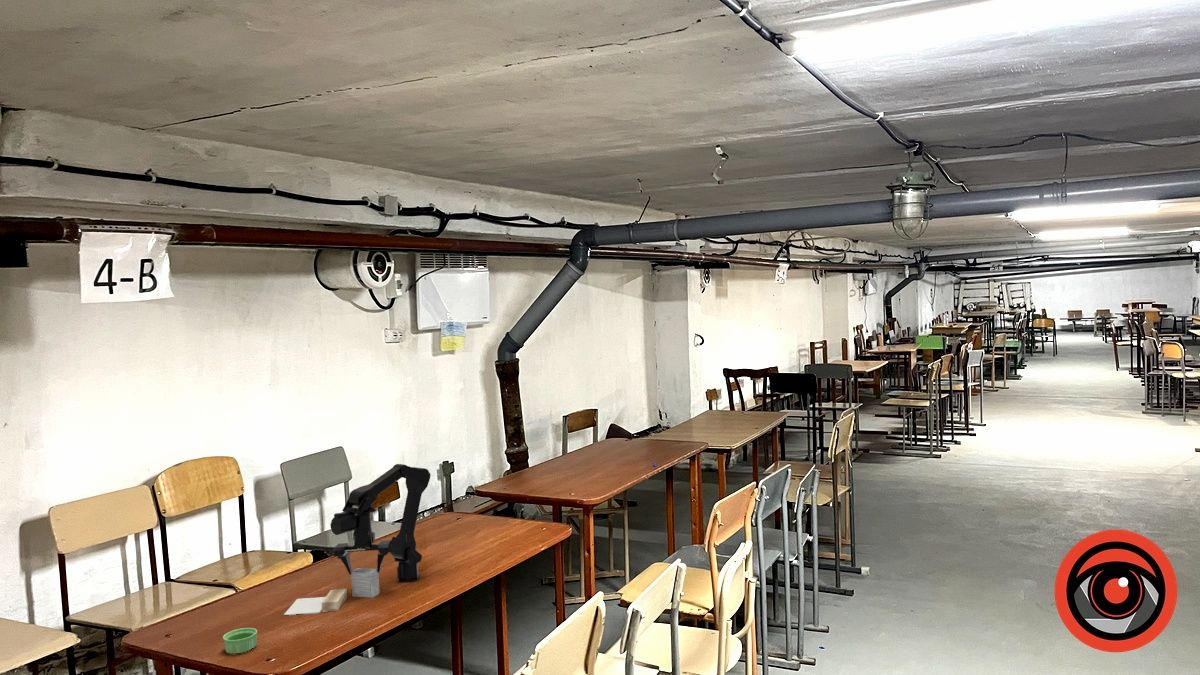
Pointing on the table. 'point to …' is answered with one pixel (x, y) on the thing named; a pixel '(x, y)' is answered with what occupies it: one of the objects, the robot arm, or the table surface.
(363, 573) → the medicine box
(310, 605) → the mat
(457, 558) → the table surface
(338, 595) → the step block
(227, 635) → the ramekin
